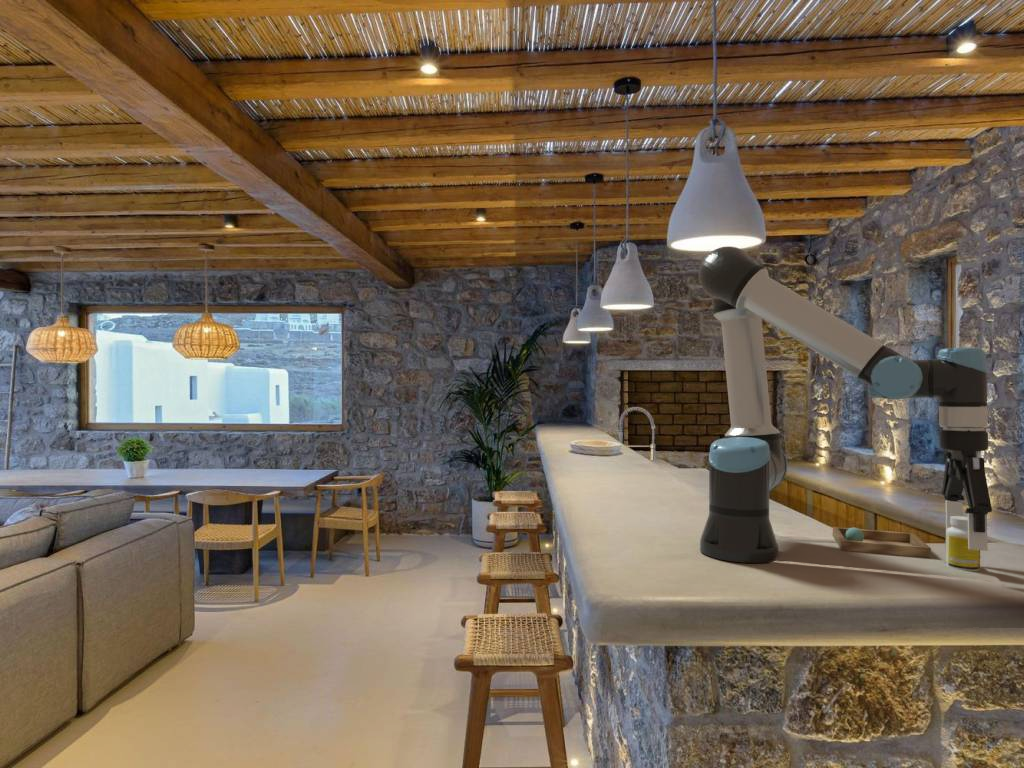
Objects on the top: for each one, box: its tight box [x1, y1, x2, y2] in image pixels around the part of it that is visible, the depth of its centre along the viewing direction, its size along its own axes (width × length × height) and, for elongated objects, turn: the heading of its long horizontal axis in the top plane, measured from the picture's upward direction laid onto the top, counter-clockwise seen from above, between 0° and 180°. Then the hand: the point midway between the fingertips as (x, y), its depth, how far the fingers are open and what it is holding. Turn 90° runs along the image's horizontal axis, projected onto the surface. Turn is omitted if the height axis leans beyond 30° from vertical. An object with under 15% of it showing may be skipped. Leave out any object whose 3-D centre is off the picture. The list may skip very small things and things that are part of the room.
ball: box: [846, 526, 864, 541], centre depth 138 cm, size 4×4×4 cm
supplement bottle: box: [944, 515, 981, 572], centre depth 121 cm, size 5×5×10 cm
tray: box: [832, 526, 932, 559], centre depth 136 cm, size 16×14×2 cm
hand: (965, 541), depth 121 cm, fingers open, 13 cm apart
